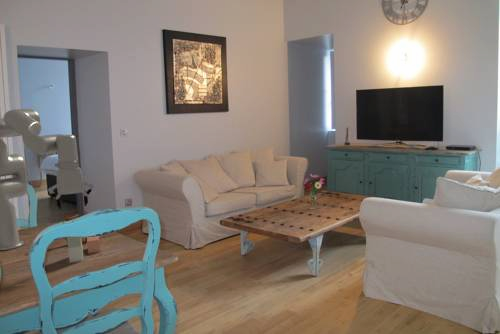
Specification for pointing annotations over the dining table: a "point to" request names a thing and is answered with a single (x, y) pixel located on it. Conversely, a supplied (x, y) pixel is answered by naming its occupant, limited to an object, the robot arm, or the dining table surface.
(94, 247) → the terracotta brick
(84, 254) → the build mat
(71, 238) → the sage brick
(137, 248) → the dining table surface
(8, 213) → the robot arm
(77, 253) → the cream brick
